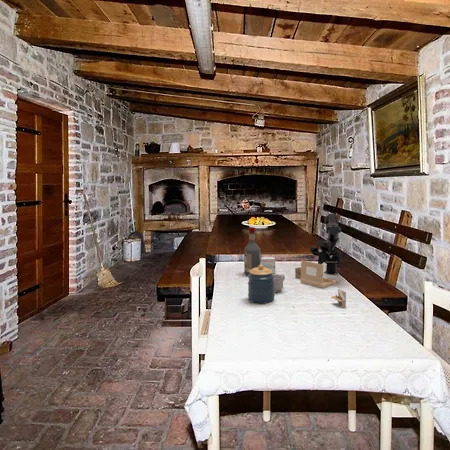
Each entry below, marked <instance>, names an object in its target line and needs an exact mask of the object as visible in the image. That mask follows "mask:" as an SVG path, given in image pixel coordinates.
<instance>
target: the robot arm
mask: <svg viewBox="0 0 450 450" xmlns="http://www.w3.org/2000/svg"><path fill="white" fill-rule="evenodd" d="M324 225H325V233H326V234H327V239H326V240H322V239H317V243H316V246H310V248H309V251H310V253H311V254H312V255H313V256H315V257H318V260H317V263H318V264H323V265H324V264H326V268H325V269H326V270H325V271H324V273H325V274H330V275H336V274H339V271H338V269H337V268H338V265H339V264H340V263H341V260H342V257H343V255H342V254H341V252H340V251H339V250H338V249H337V248H336V245H337V244H338V242H339V240H340V238H339V234H341V232H342V229H341V227H340V226H339V217H338V216H337V214H335V213H328V214H327V215H326V216H325V217H324ZM317 246H318V247H319V248H318V247H317ZM335 273H336V274H335Z"/></svg>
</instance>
